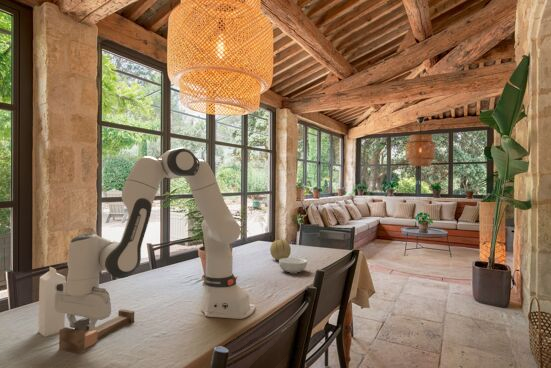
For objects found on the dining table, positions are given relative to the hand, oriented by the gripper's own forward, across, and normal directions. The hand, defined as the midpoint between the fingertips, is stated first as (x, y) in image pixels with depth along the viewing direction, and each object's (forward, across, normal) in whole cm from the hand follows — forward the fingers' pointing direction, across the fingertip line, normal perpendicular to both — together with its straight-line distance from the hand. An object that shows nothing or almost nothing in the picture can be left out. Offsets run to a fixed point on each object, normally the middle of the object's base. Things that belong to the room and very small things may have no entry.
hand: (82, 328), depth 102 cm
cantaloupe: (+5, -24, -136) cm, 139 cm away
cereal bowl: (+5, -40, -110) cm, 118 cm away
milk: (+5, +18, -4) cm, 19 cm away
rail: (+5, 0, -8) cm, 9 cm away
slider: (+5, 0, 0) cm, 5 cm away
